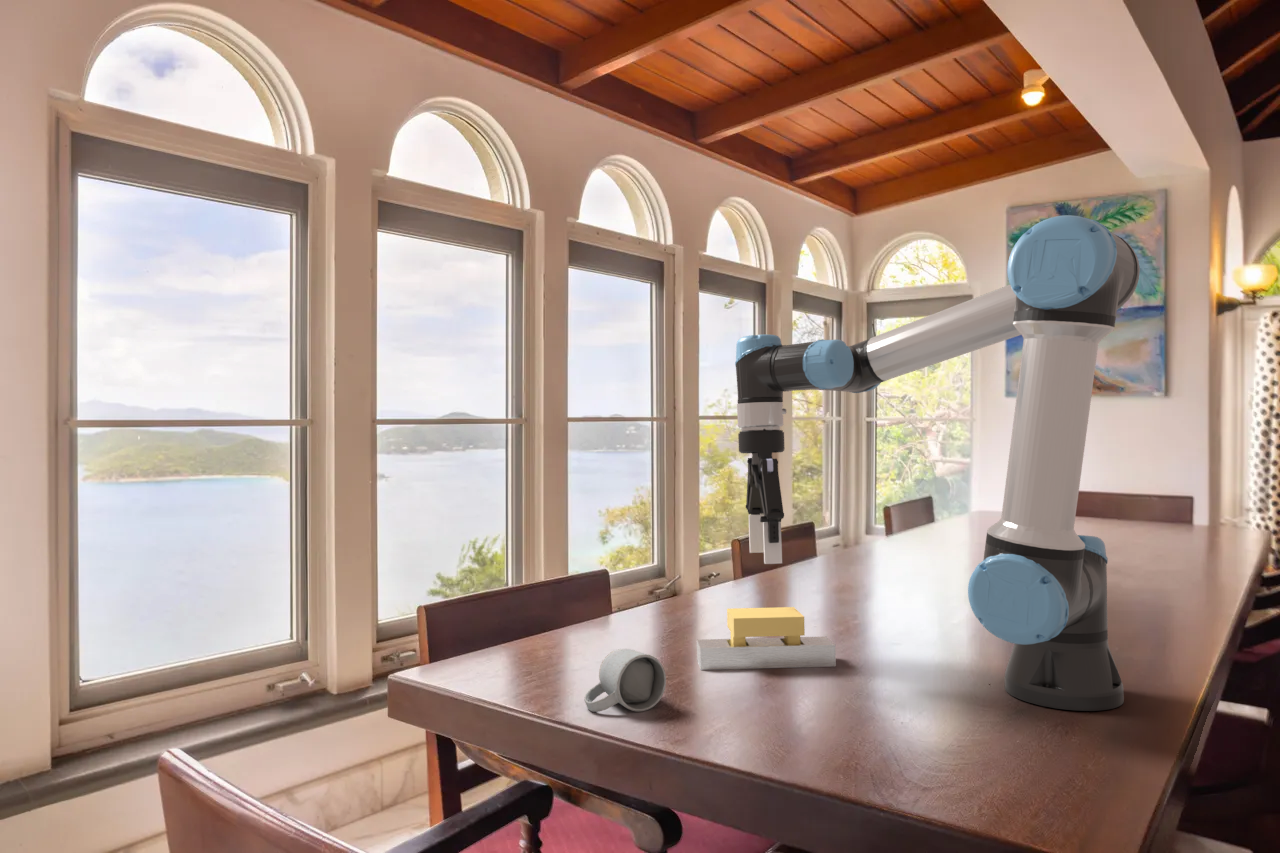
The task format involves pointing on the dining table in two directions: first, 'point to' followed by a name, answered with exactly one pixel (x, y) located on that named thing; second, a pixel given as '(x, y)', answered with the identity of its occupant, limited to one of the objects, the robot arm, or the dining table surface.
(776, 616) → the yellow bridge
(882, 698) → the dining table surface
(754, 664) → the rail
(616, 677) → the ceramic mug
